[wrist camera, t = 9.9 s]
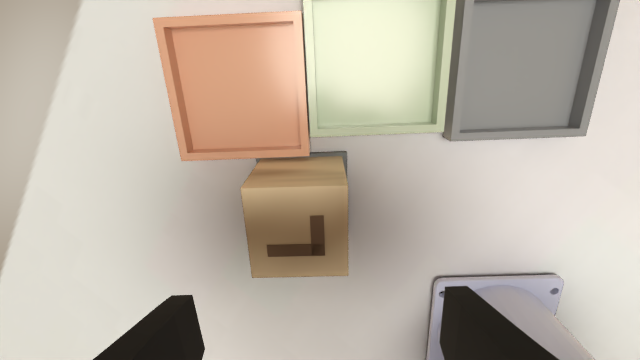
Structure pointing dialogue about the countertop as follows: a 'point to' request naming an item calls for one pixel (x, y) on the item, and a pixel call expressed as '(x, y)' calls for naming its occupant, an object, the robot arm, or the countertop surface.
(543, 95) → the charcoal dish
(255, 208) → the letter cube
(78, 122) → the countertop surface
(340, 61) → the sage dish
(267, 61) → the terracotta dish
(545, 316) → the robot arm
